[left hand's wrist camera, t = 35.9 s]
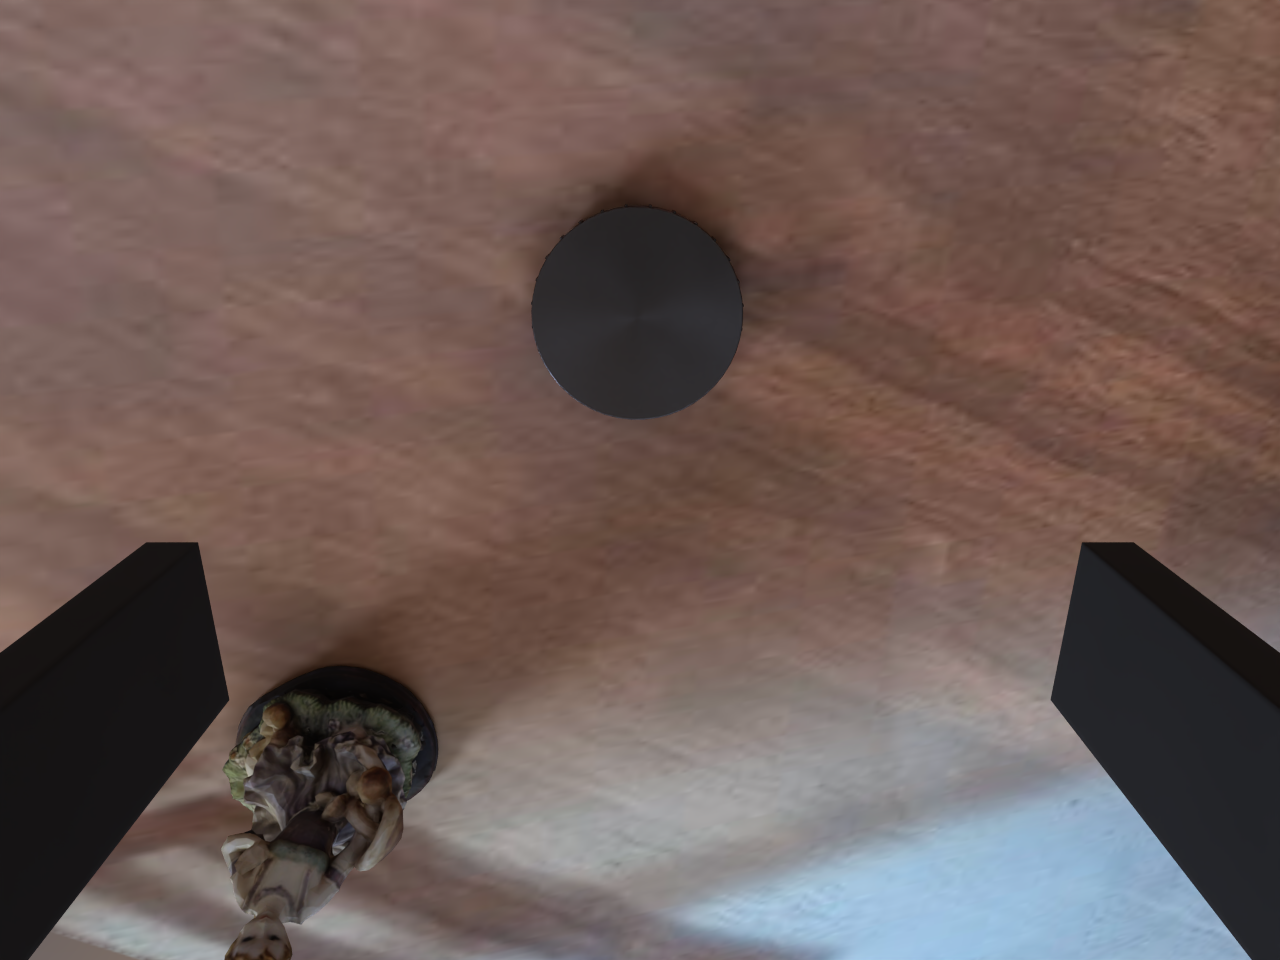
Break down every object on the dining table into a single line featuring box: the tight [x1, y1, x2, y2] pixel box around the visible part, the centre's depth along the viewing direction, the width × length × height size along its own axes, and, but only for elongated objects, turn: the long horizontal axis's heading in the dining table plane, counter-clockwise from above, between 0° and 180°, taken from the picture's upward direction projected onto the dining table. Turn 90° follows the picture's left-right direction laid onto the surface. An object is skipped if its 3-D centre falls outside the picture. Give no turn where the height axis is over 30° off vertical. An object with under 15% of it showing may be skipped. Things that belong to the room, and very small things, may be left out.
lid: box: [531, 204, 744, 420], centre depth 39 cm, size 10×10×2 cm
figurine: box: [221, 666, 438, 960], centre depth 42 cm, size 12×11×15 cm
